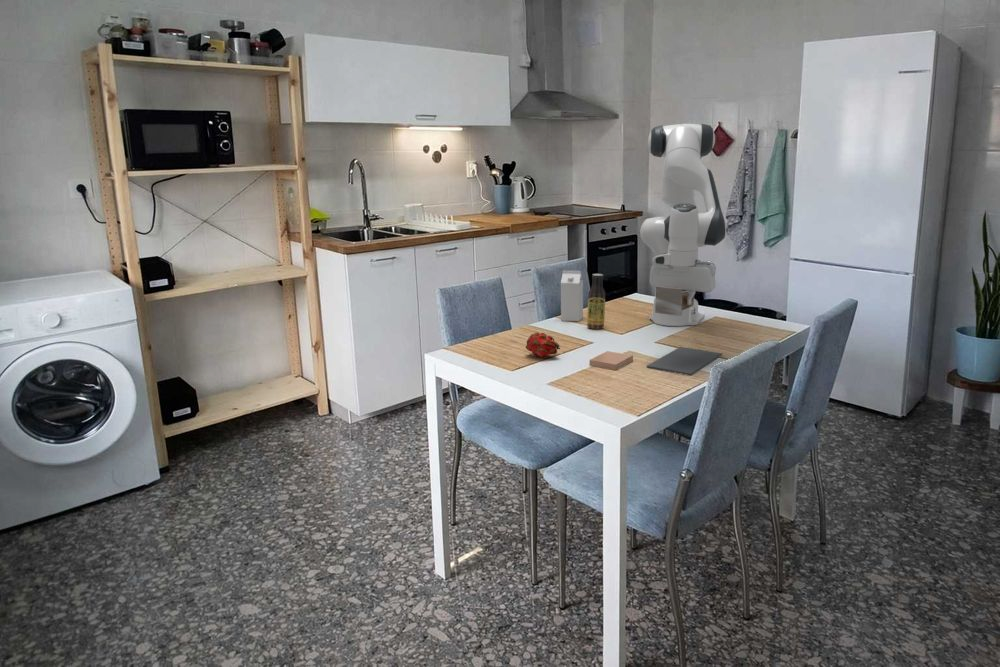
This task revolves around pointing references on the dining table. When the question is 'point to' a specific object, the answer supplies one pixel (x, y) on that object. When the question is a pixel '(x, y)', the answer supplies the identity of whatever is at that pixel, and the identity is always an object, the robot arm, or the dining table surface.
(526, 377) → the dining table surface
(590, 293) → the sauce bottle
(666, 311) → the wooden post on base
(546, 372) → the dining table surface
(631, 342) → the dining table surface
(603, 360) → the tile
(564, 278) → the milk carton
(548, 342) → the dragon fruit
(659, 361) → the mat
